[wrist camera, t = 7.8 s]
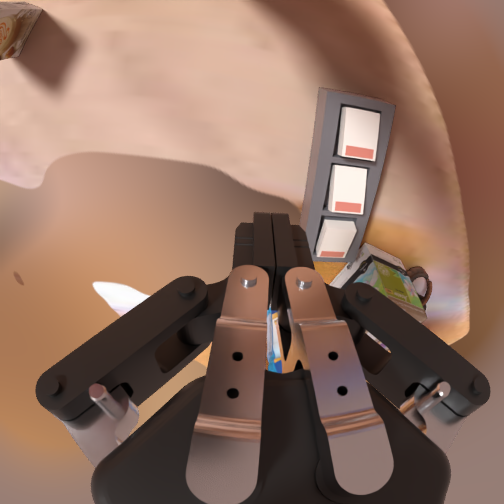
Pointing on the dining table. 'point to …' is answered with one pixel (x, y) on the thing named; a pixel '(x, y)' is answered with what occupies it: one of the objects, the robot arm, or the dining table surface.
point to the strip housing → (327, 155)
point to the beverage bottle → (273, 343)
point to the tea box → (382, 280)
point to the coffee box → (15, 26)
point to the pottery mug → (420, 272)
